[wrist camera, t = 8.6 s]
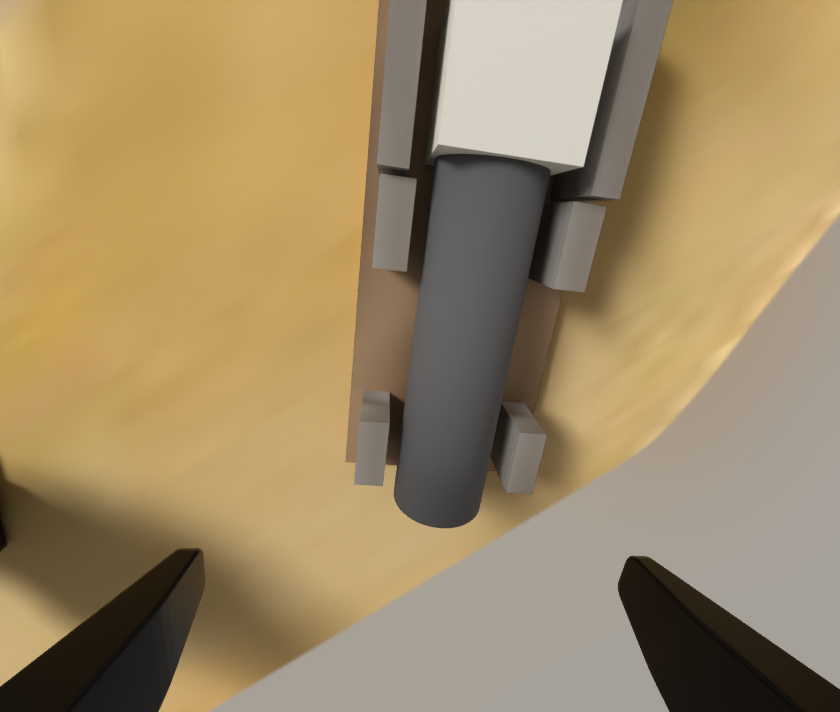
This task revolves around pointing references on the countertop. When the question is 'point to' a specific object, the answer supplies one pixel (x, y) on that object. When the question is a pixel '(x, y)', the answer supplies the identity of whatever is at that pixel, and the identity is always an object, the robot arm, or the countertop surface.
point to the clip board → (407, 222)
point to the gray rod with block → (488, 224)
